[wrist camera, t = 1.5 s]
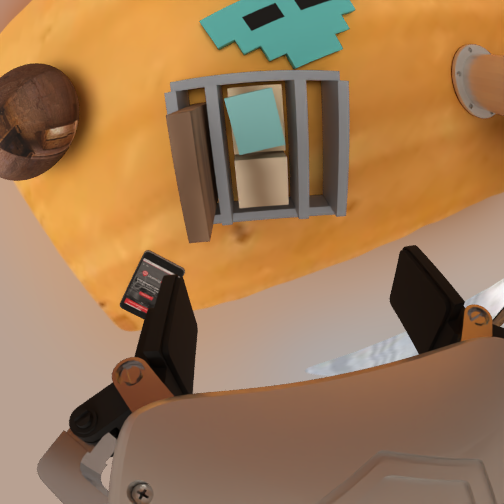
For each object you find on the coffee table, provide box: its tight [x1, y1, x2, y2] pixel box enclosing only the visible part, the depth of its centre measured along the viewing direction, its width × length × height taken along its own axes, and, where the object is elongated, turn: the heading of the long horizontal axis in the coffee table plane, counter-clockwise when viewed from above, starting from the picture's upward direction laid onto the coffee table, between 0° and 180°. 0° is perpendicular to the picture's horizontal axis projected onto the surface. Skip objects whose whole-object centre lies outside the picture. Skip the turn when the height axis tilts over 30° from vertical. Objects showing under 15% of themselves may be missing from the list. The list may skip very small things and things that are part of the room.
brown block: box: [166, 102, 218, 243], centre depth 30 cm, size 2×12×14 cm, turn 5°
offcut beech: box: [234, 151, 289, 208], centre depth 36 cm, size 6×6×5 cm
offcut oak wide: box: [227, 84, 286, 155], centre depth 32 cm, size 6×8×4 cm
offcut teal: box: [224, 88, 285, 155], centre depth 29 cm, size 5×6×3 cm
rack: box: [164, 70, 349, 225], centre depth 33 cm, size 19×18×7 cm
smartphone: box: [120, 250, 185, 319], centre depth 48 cm, size 7×1×15 cm
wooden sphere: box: [0, 64, 79, 181], centre depth 24 cm, size 15×15×15 cm
